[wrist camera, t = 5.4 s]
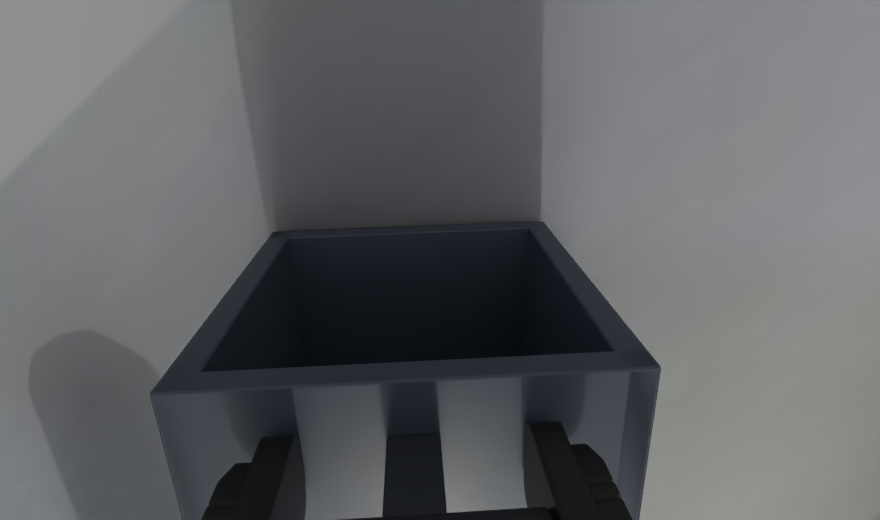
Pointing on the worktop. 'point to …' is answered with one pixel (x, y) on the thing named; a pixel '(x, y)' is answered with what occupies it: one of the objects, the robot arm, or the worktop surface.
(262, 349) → the grey open box
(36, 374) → the worktop surface
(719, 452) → the worktop surface
